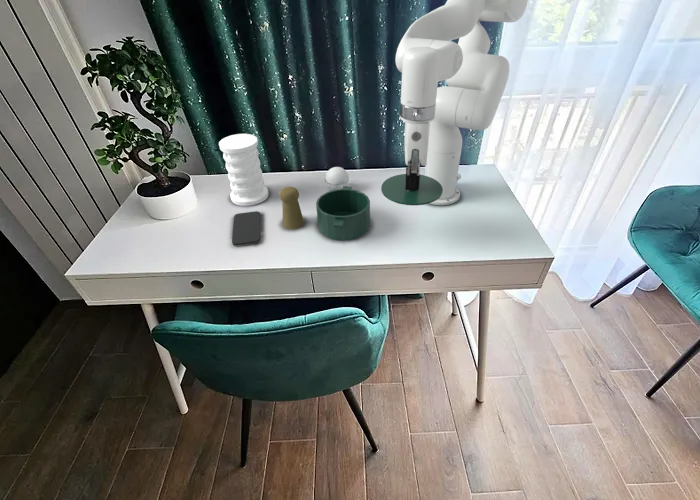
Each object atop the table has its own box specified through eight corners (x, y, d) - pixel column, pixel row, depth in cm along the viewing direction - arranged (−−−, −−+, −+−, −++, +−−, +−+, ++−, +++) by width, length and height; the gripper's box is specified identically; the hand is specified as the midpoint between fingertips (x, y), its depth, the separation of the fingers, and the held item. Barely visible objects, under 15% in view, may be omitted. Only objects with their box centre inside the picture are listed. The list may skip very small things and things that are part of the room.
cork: (300, 230, 110) (295, 195, 103) (279, 228, 111) (273, 193, 104) (306, 218, 115) (302, 184, 108) (286, 216, 116) (281, 182, 109)
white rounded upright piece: (324, 184, 130) (323, 163, 125) (347, 182, 130) (346, 161, 126) (327, 200, 122) (325, 178, 117) (351, 198, 123) (350, 176, 118)
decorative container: (223, 199, 124) (208, 144, 113) (249, 183, 132) (238, 130, 121) (250, 209, 119) (237, 153, 108) (276, 192, 127) (267, 138, 116)
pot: (372, 207, 118) (372, 184, 113) (366, 248, 103) (366, 224, 98) (324, 205, 120) (322, 183, 115) (312, 245, 104) (309, 222, 100)
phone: (260, 210, 117) (260, 240, 105) (260, 213, 117) (260, 243, 106) (234, 213, 116) (231, 244, 104) (234, 216, 117) (232, 246, 105)
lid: (440, 178, 105) (443, 156, 101) (444, 208, 93) (447, 185, 89) (382, 176, 106) (383, 155, 102) (379, 206, 94) (379, 183, 91)
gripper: (437, 125, 80) (428, 203, 92) (433, 99, 93) (426, 171, 104) (399, 124, 81) (395, 202, 93) (400, 98, 94) (397, 170, 105)
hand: (412, 185), depth 98 cm, fingers closed on lid, 2 cm apart
